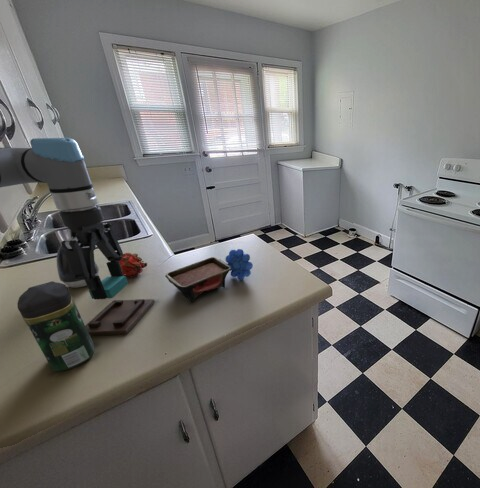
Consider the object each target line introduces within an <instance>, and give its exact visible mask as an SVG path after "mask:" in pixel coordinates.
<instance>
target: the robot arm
mask: <svg viewBox="0 0 480 488" xmlns="http://www.w3.org/2000/svg"><path fill="white" fill-rule="evenodd" d="M29 144H30V146H31V147H11V146H10V147H9V146H5V147H0V188H5V187H11V186H17V185H23V184H37V183H39V184H40V183H41V184H43V183H44V184H45V183H46V184H47V187H48V190H49V192H50V195H51V197H52V200H53V203H54V205H55V208H56V209H57V210H59V213H58V214H59V217H60V219H61V222H62V224H63V226H64V227H66V228H67V229H69V231H70V238H68V239H67V240H62V241H61V242H60V244H61V245H62V246H63V247H64V249H65V250H66V252H67V256H68V259H69V262H70V266H71V269H72V272H73V275H74V279H75V280H85V282H86V284H87V286H86V287H87V289H88V291H89V290H91V293H92V295H93V297H94V299H93V300H106V299H108V298H107V295H106V293H105V290H104V287H103V285H102V282H101V281H102V280H101V278H100V275H98V276H96V275H95V263H96V261H95V250H96V247H97V248H98V250H99V251H100V252H101V253H102V255H103V256H104V257H105V258H106V260H107V262H106V267H107V269H108V271H109V274H110V277H113V276H124V274H123V273H122V269H121V265H120V263H119V261H122V259H123V257H120V256H122V255H123V254H124V252H123V250H122V247H121V245H120V243H119V240H118V238H117V236H116V234H115V232H114V226H113V223H112V222H103V221H104V220H105V217H104V215H103V214H104V213H103V211H102V208H101V206H99V205H98V204H99V201H98V197H97V195H96V191H95V189H94V185H93V183H92V179H91V177H90V174H89V172H88V168H87V165H86V162H85V157H84V155H83V153H82V151H81V149H80V146H79V144H78V142H77V141H76V140H75V139H74V138H71V137H36V138H31V139H30V141H29ZM94 261H95V262H94ZM88 273H89V274H88Z"/></svg>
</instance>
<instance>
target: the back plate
mask: <svg viewBox="0 0 480 488" xmlns="http://www.w3.org/2000/svg"><path fill="white" fill-rule="evenodd" d="M154 303H155V299H154V298H147V299H146V298H145V299H144V298H139V299H137V298H136V299H115V300H112V301H111V302H109V304H107V305H106V306H105V307H103V309H102V310H101V311H100V312H98V314H97V315H95V316H94V317H93V318H92V319H91V320H90V321H88V322H87V323H86V324H84V325H85V327H86V329H87V331H88V333H89V335H90V336H104V335H105V336H107V335H128V334H129V333H130V331H131V330H132V329H133V328H134V327H135V326H136V324H138V322H139V321H140V320H141V319H142V318H143V316H145V314H146V313H147V312H148V311H149V310H150V308H151V307H152V306H153V305H154Z"/></svg>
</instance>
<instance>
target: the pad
mask: <svg viewBox="0 0 480 488" xmlns="http://www.w3.org/2000/svg"><path fill="white" fill-rule="evenodd" d="M101 282H102V285H103V287H104V290H105V293H106V295H107V298H106V299H113V298H114V297H116V295H118V294H119V293H120V292H121V291H122V290H123V289H124V288H125V287H126V286H127V285H129V281H128V279H127V276H126V275H123V276H113V277H111V276H106V277H105V278H103V279H102V280H101ZM88 293H89V295H90V297H91V299H92V300H94V297H93V295H92V293H91V290H89V289H88Z"/></svg>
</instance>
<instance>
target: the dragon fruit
mask: <svg viewBox="0 0 480 488" xmlns="http://www.w3.org/2000/svg"><path fill="white" fill-rule="evenodd" d="M120 257H123V259H122V261H119V263H120V265H121V269H122V273H123V275H124V276H126V277H128V278H134V277H136V274H142V272H143V269H144V268H147V266H148V262H145V261H144V260H143V259H142V257H139V254H138V253H131V252H125V253H123V255H122V256H120Z"/></svg>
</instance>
